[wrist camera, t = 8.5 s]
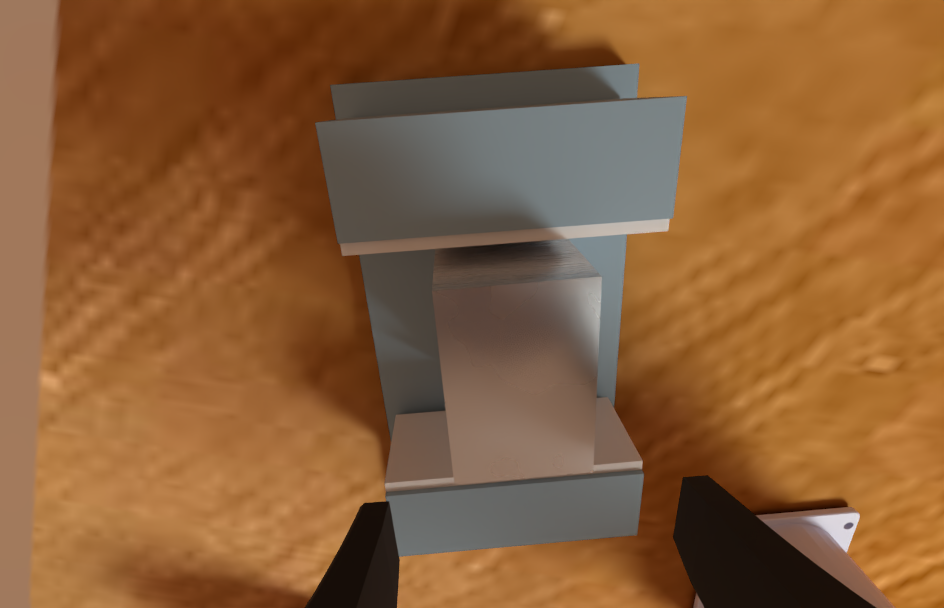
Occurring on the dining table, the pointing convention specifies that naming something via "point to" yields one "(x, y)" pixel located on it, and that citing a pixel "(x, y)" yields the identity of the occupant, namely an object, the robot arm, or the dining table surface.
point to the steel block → (518, 358)
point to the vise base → (491, 192)
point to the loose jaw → (507, 493)
